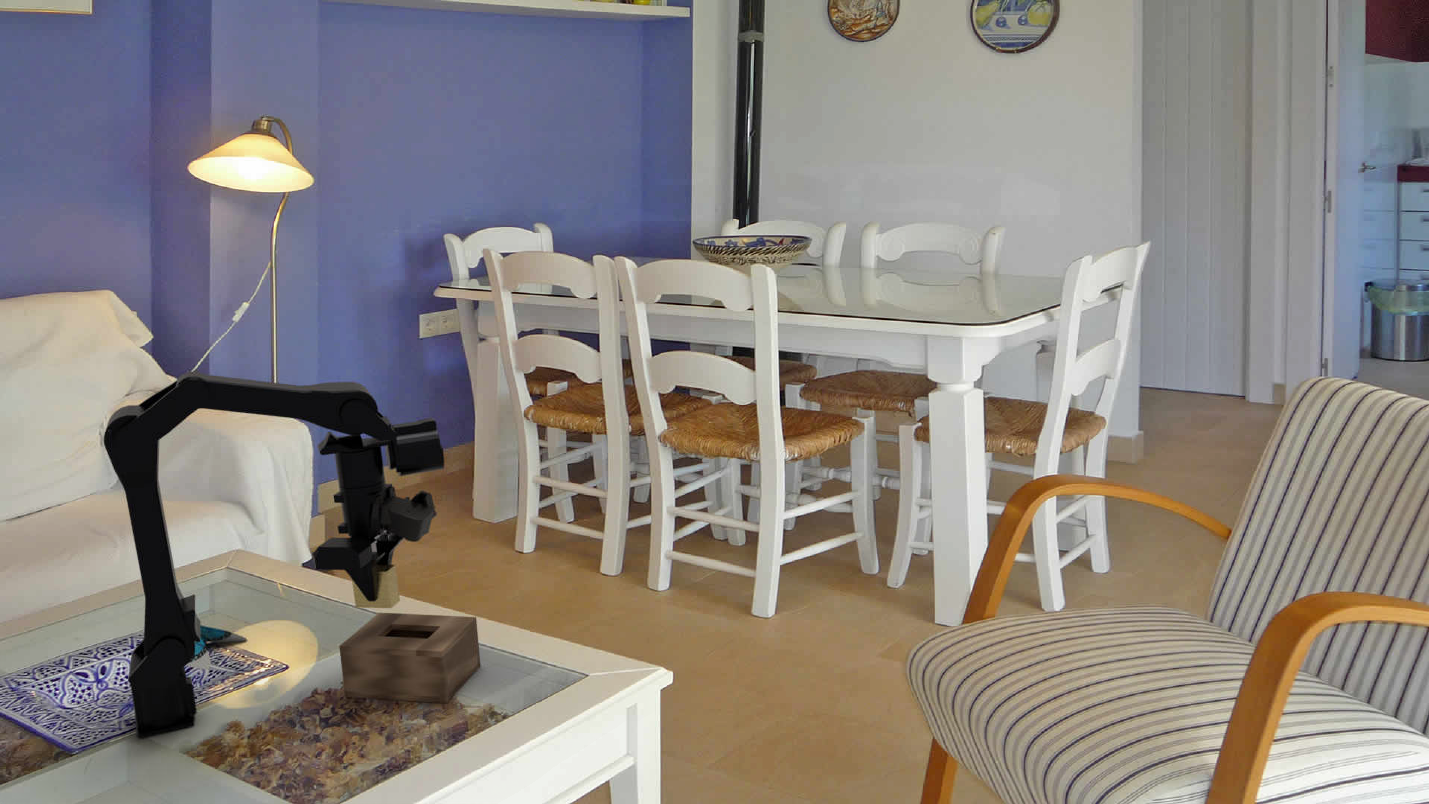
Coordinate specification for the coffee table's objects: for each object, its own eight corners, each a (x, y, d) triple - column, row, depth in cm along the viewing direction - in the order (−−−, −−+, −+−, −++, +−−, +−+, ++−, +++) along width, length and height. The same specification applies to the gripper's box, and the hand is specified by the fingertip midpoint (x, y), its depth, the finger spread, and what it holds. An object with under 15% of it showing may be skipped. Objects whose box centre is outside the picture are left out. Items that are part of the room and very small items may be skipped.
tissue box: (345, 696, 161) (339, 646, 159) (384, 660, 171) (379, 612, 170) (446, 703, 158) (441, 651, 156) (480, 665, 168) (476, 617, 167)
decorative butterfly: (175, 614, 181) (233, 600, 179) (191, 655, 182) (249, 641, 180) (131, 643, 172) (193, 628, 169) (148, 685, 173) (210, 671, 170)
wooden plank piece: (355, 607, 162) (350, 571, 161) (364, 599, 165) (359, 564, 164) (391, 608, 161) (386, 571, 160) (399, 600, 164) (395, 564, 163)
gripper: (388, 505, 149) (404, 627, 152) (450, 460, 166) (463, 571, 170) (302, 505, 151) (320, 625, 155) (372, 461, 169) (387, 570, 172)
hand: (377, 596), depth 163 cm, fingers closed on wooden plank piece, 2 cm apart
